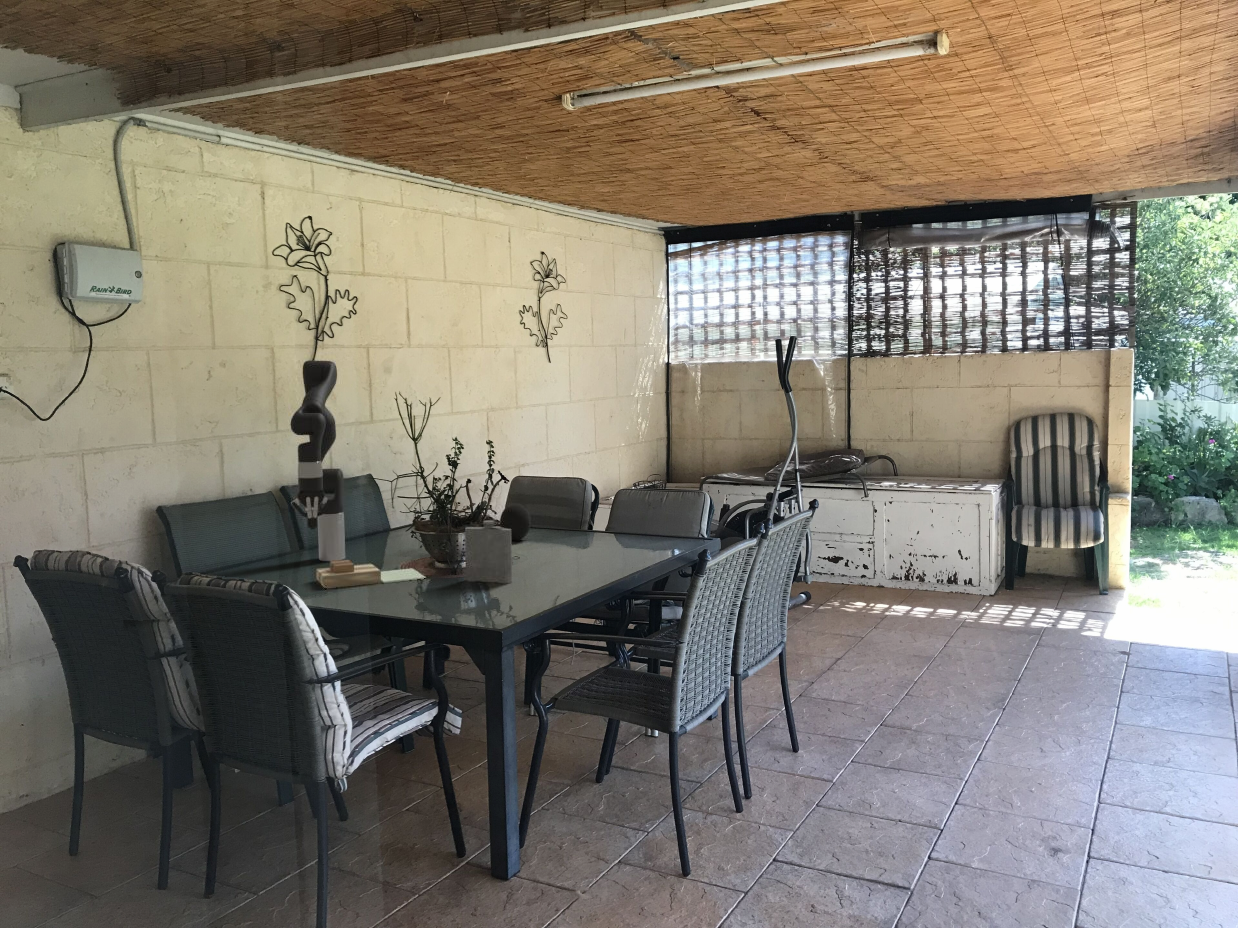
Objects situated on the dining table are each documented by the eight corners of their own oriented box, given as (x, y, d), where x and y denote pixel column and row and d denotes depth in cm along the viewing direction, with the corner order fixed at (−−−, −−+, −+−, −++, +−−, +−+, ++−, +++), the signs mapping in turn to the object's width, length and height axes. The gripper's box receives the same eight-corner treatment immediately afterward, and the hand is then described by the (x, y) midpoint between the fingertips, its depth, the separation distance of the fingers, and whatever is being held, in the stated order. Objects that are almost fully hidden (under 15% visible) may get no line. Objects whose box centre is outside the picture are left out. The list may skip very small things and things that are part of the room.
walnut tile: (330, 569, 324) (330, 561, 324) (348, 567, 327) (348, 559, 326) (335, 573, 317) (335, 565, 316) (354, 571, 320) (353, 564, 319)
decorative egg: (496, 539, 400) (495, 502, 398) (525, 536, 405) (524, 500, 403) (505, 544, 389) (505, 506, 387) (535, 541, 394) (534, 504, 392)
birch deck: (316, 580, 325) (316, 568, 324) (371, 575, 333) (371, 563, 332) (324, 588, 313) (324, 576, 313) (381, 582, 321) (380, 570, 321)
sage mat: (371, 574, 334) (371, 572, 334) (412, 570, 341) (412, 568, 341) (383, 583, 320) (383, 581, 320) (425, 578, 327) (425, 577, 327)
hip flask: (464, 581, 323) (463, 520, 321) (469, 578, 327) (468, 518, 325) (509, 583, 319) (508, 522, 317) (514, 581, 323) (513, 520, 321)
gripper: (329, 473, 321) (330, 525, 322) (286, 475, 315) (288, 529, 316) (333, 475, 314) (335, 529, 316) (290, 477, 308) (292, 532, 310)
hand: (312, 529), depth 316 cm, fingers closed
